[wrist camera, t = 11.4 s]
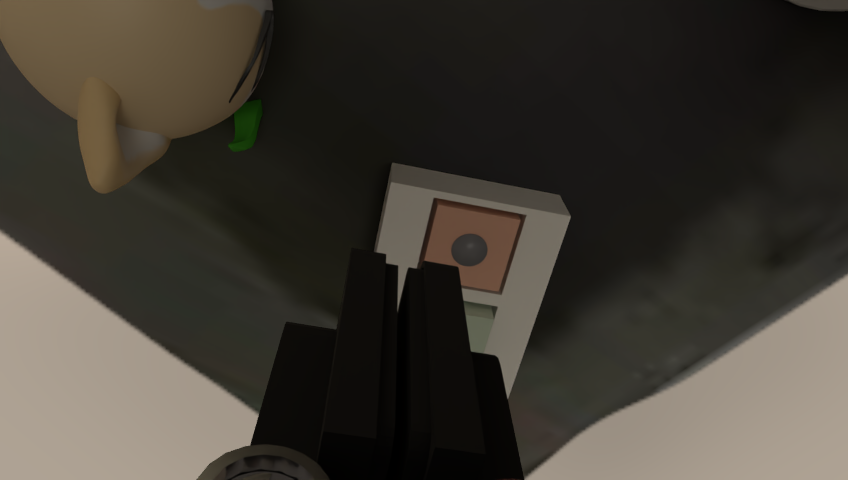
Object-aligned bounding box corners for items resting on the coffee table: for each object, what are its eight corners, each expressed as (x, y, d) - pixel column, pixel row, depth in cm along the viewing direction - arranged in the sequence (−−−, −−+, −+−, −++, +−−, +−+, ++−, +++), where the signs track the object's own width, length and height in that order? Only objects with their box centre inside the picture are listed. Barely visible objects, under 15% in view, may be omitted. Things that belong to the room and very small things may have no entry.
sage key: (489, 297, 40) (494, 320, 38) (470, 358, 42) (474, 383, 40) (414, 284, 40) (415, 307, 37) (399, 346, 42) (399, 371, 39)
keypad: (559, 194, 39) (571, 216, 36) (482, 426, 47) (487, 457, 44) (392, 162, 38) (391, 182, 35) (342, 405, 46) (338, 436, 43)
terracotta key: (513, 202, 38) (520, 221, 36) (493, 271, 40) (498, 292, 38) (436, 187, 38) (438, 205, 35) (419, 257, 40) (420, 278, 37)
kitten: (339, 112, 36) (302, 232, 23) (166, 150, 37) (33, 289, 24) (250, -207, 30) (123, -298, 16) (41, -152, 31) (-243, -196, 17)
